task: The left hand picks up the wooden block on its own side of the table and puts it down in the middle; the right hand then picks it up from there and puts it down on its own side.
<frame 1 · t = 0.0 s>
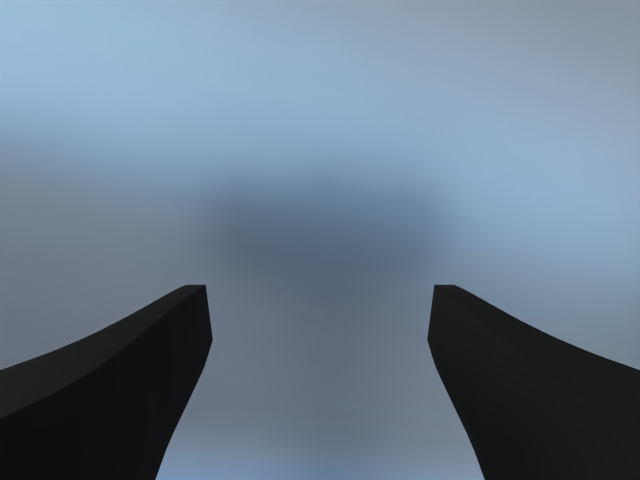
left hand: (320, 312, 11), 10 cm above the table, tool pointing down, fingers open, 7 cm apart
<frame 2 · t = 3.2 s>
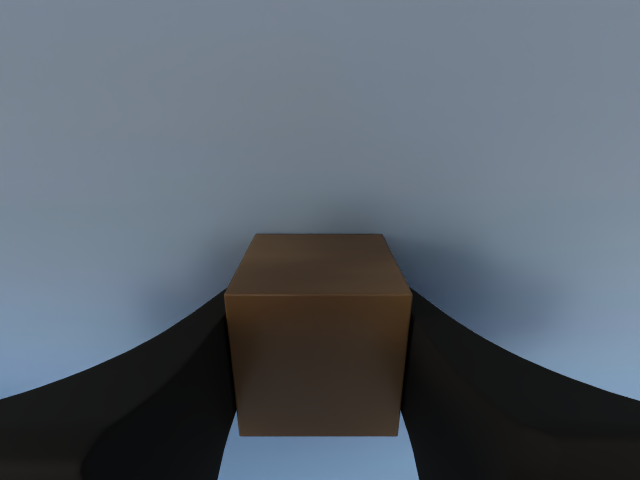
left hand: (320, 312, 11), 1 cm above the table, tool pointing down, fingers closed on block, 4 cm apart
block: (318, 291, 12), on the table, touching left hand
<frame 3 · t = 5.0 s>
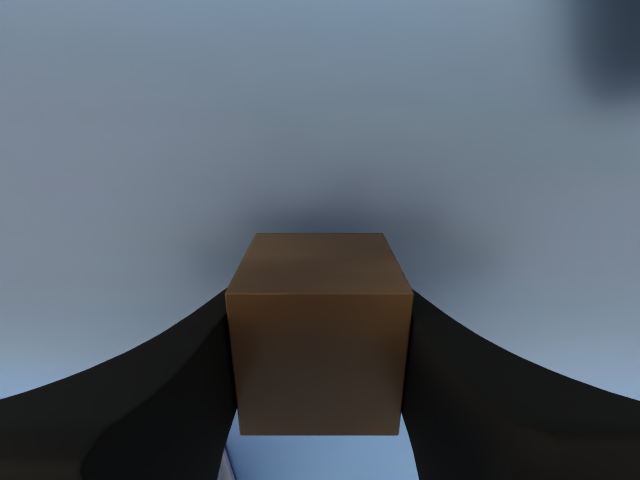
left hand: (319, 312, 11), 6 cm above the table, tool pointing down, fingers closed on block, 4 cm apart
block: (319, 290, 12), point 5 cm above the table, touching left hand
when the left hand's fingers open (2 cm above the table, at t = 7.0 s): block stays where it is, on the table.
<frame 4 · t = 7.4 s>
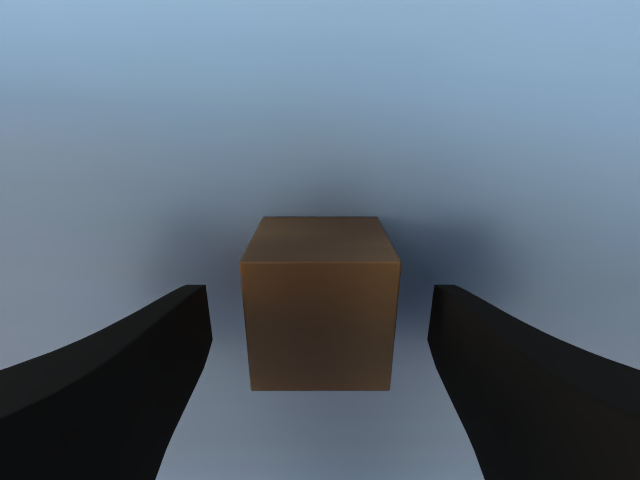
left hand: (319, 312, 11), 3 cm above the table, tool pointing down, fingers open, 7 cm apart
block: (320, 269, 14), on the table
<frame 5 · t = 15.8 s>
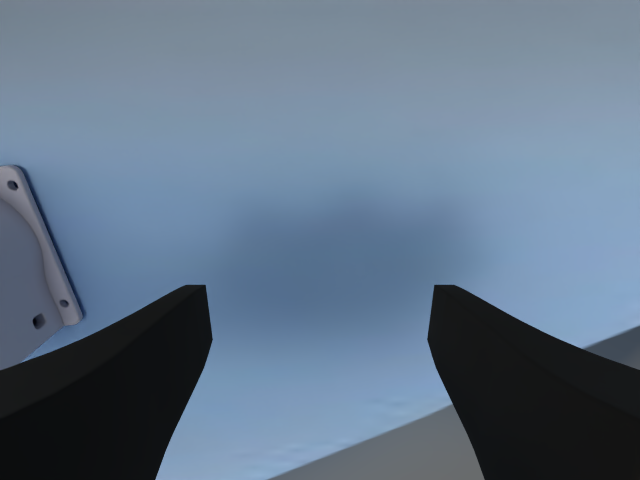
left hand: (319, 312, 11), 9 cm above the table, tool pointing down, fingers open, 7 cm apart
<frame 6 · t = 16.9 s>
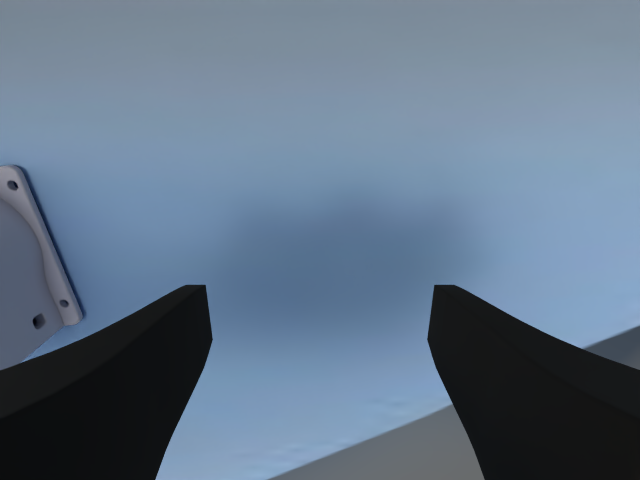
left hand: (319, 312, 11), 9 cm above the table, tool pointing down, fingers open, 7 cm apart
when the right hand's fingers open (2 cm above the table, at t = 18.4 s): block stays where it is, on the table.
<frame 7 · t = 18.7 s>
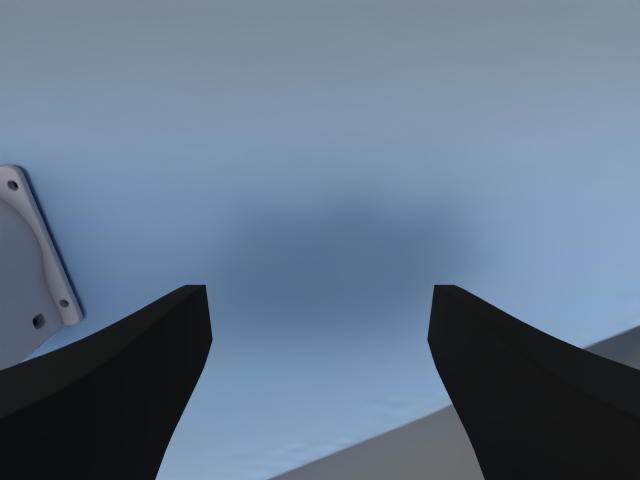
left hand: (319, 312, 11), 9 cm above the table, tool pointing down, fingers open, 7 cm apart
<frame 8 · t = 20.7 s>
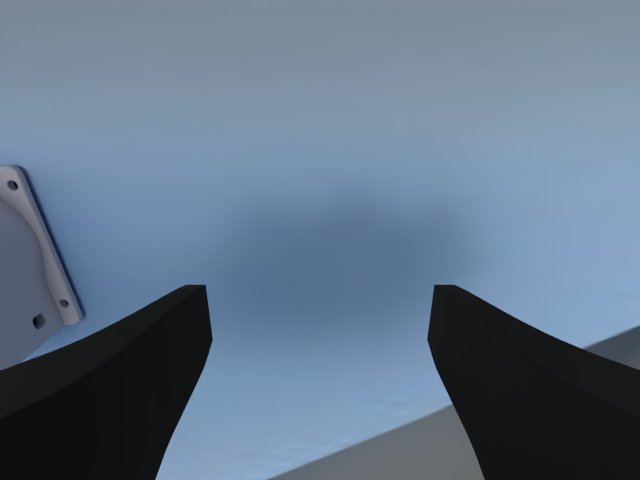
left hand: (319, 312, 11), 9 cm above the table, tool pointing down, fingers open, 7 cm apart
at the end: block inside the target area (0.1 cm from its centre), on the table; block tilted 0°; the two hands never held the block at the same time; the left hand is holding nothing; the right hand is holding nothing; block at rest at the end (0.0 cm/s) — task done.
